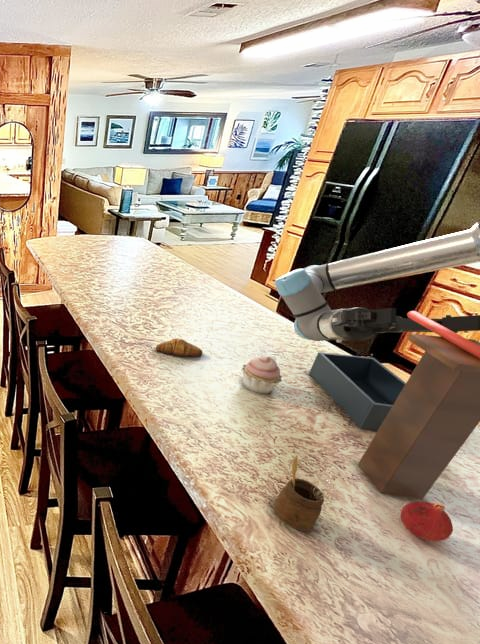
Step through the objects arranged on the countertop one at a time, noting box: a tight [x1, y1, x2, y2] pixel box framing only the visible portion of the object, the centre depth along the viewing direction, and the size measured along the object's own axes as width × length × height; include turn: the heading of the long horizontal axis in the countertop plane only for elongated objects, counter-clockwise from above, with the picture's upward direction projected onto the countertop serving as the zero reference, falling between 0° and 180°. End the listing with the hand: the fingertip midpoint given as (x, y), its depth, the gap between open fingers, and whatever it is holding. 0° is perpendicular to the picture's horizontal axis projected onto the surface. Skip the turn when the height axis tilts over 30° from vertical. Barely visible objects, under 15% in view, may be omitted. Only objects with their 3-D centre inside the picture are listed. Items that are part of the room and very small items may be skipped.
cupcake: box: [241, 355, 283, 395], centre depth 101 cm, size 9×9×10 cm
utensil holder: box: [273, 454, 335, 532], centre depth 67 cm, size 6×6×12 cm
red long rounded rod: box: [406, 310, 480, 359], centre depth 67 cm, size 18×2×2 cm, turn 170°
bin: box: [308, 351, 407, 432], centre depth 97 cm, size 23×14×8 cm, turn 170°
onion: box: [400, 500, 454, 542], centre depth 65 cm, size 6×6×8 cm
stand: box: [357, 333, 480, 500], centre depth 71 cm, size 10×10×30 cm
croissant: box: [155, 338, 203, 358], centre depth 117 cm, size 14×7×5 cm, turn 80°
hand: (436, 319), depth 70 cm, fingers open, 13 cm apart
